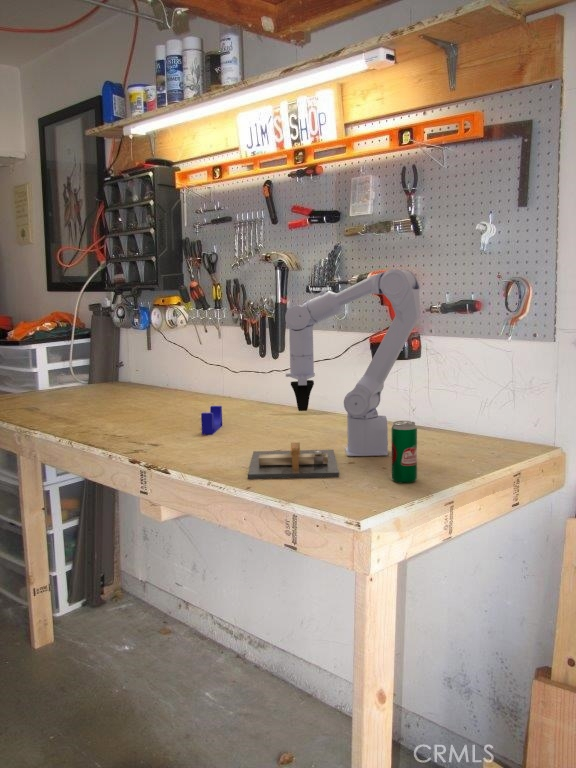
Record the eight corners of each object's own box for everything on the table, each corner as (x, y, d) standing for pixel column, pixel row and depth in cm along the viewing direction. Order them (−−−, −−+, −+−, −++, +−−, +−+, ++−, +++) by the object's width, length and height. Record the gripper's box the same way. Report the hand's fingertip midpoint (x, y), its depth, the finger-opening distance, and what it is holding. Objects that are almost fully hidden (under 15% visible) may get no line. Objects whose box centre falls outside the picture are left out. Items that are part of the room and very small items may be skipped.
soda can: (404, 485, 135) (404, 426, 133) (386, 480, 139) (386, 422, 138) (422, 481, 138) (422, 422, 136) (404, 475, 142) (404, 419, 140)
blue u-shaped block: (207, 426, 199) (206, 405, 198) (222, 426, 199) (221, 405, 198) (196, 435, 187) (195, 413, 187) (212, 435, 187) (211, 413, 186)
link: (327, 460, 151) (327, 452, 151) (327, 464, 148) (327, 457, 148) (259, 461, 152) (259, 454, 151) (258, 465, 148) (258, 458, 148)
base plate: (333, 453, 162) (333, 431, 161) (339, 477, 142) (338, 451, 142) (253, 455, 162) (252, 432, 162) (247, 479, 143) (247, 453, 142)
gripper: (285, 352, 173) (286, 405, 175) (284, 358, 158) (286, 416, 160) (313, 352, 172) (314, 405, 174) (315, 358, 158) (316, 415, 160)
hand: (302, 410), depth 167 cm, fingers closed
